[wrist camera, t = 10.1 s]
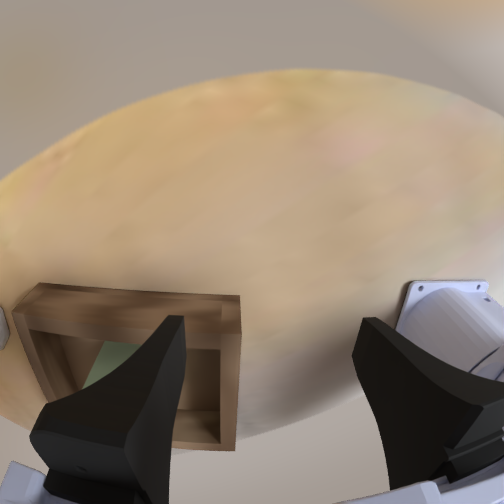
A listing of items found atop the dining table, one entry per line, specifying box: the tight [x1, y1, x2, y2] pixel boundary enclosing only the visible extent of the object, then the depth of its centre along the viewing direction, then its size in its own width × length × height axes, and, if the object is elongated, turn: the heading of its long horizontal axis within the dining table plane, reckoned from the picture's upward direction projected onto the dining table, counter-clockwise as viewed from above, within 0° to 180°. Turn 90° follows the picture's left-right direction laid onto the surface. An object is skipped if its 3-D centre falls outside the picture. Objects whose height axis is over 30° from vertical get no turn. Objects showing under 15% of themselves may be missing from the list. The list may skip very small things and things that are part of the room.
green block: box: [82, 341, 141, 389], centre depth 20 cm, size 4×4×6 cm
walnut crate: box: [11, 283, 242, 451], centre depth 22 cm, size 16×13×4 cm
